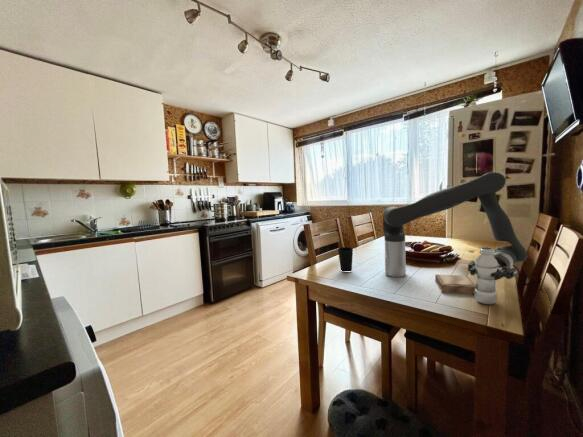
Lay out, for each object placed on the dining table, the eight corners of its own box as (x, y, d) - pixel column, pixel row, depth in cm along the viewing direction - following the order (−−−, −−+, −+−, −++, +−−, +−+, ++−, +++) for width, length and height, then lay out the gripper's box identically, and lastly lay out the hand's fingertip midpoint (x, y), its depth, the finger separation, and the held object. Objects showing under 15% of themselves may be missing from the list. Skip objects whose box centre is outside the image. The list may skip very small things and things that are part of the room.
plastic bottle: (469, 299, 94) (470, 247, 91) (486, 297, 94) (487, 245, 92) (483, 307, 87) (485, 251, 85) (501, 305, 88) (503, 249, 85)
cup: (354, 273, 129) (353, 250, 127) (338, 273, 131) (337, 251, 129) (353, 268, 136) (352, 247, 135) (339, 268, 138) (338, 247, 136)
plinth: (442, 292, 101) (442, 284, 101) (435, 281, 112) (435, 274, 112) (477, 294, 97) (477, 286, 97) (466, 282, 109) (466, 275, 108)
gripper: (476, 251, 103) (460, 260, 93) (523, 257, 92) (510, 269, 82) (476, 268, 104) (460, 280, 94) (522, 277, 93) (509, 291, 83)
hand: (483, 274), depth 88 cm, fingers open, 6 cm apart
